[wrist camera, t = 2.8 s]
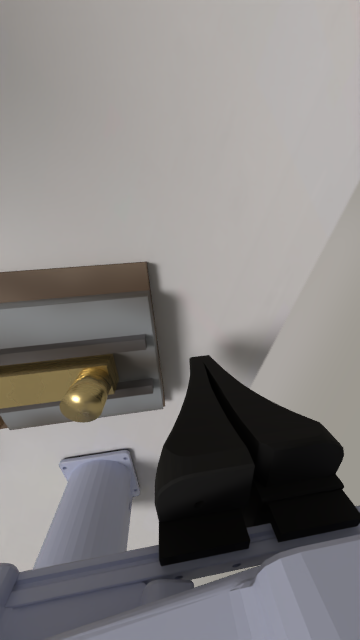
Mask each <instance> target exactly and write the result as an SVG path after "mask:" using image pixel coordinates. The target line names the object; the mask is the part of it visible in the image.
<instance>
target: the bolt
mask: <svg viewBox="0 0 360 640" xmlns="http://www.w3.org/2000/svg"><path fill="white" fill-rule="evenodd" d="M118 381H119V376H118V372H117V368H116V364H115V360H114V356H113V353H112V354H103V355H94V356H85V357H76V358H67V359H58V360H49V361H40V362H31V363H22V364H13V365H4V366H0V409H2V408H9V407H17V406H25V405H33V404H40V403H48V402H56V401H61V402H60V405H59V407H60V411H61V413H62V414H63V415H64V416H65V417H66V418H68V419H70V420H72V421H76V422H90V421H93V420H95V419H97V418H98V417H99V416H100V415H101V413H102V411H103V408H104V406H105V403H106V400H107V398H108V395H110V394H114V393H115V390H116V387H117V384H118Z"/></svg>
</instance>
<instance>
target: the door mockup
mask: <svg viewBox="0 0 360 640" xmlns="http://www.w3.org/2000/svg"><path fill="white" fill-rule="evenodd" d="M112 353H113V356H114V360H115V364H116V368H117V372H118V376H119V381H118V384H117V387H116V390H115V393H114V394H110V395H108V398H107V400H106V403H105V406H104V408H103V411H102V413H101V415H100V416H99V417H98V418H101V417H108V416H115V415H122V414H129V413H137V412H144V411H151V410H158V409H163V407H164V406H165V397H164V390H163V382H162V374H161V367H160V359H159V351H158V344H157V336H156V328H155V321H154V313H153V305H152V298H151V290H150V282H149V275H148V267H147V262H136V263H123V264H109V265H95V266H81V267H67V268H53V269H40V270H26V271H12V272H0V366H4V365H13V364H22V363H31V362H40V361H49V360H58V359H67V358H76V357H85V356H94V355H103V354H112ZM60 402H61V401H56V402H48V403H40V404H33V405H25V406H17V407H9V408H2V409H0V429H3V428H9V430H14V429H21V428H28V427H36V426H43V425H50V424H57V423H64V422H72V420H70V419H68V418H66V417H65V416H64V415H63V414H62V413H61V411H60V407H59V405H60Z"/></svg>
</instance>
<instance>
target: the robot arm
mask: <svg viewBox="0 0 360 640" xmlns="http://www.w3.org/2000/svg"><path fill="white" fill-rule="evenodd" d="M343 456H344V451H343V447H342V446H341V445H340V443H339V442H338V441H337V440H336V439H335V438H334V437H333V436H332V435H331V434H330V432H329V431H328V430H327V429H326V428H325V427H324V426H323V425H322V424H320V422H317V421H315V420H312V419H310V418H307V417H305V416H302V415H300V414H297V413H295V412H292V411H290V410H288V409H286V408H284V407H281V406H279V405H277V404H275V403H273V402H271V401H270V400H268V399H266V398H264V397H262V396H260V395H259V394H257V393H255V392H254V391H252V390H250V389H249V388H247V387H246V386H244V385H243V384H242V383H240V382H239V381H237V380H236V379H235V378H234V377H232V376H231V375H230V374H229V373H227V372H226V371H225V370H224V369H223V368H222V367H221V366H220V365H218V364H217V363H216V362H215V361H214V360H213V359H212V358H211V357H210V356H209V355H207V356H198V357H191V358H190V380H189V385H188V389H187V393H186V397H185V400H184V403H183V406H182V408H181V411H180V413H179V416H178V418H177V420H176V422H175V425H174V427H173V429H172V431H171V433H170V434H169V436H168V438H167V440H166V442H165V444H164V445H163V449H162V452H161V456H160V460H159V463H158V468H157V473H156V479H155V506H156V511H157V515H158V519H159V545H156V546H151V547H146V548H141V549H136V550H130V551H126V550H127V541H128V533H129V524H130V515H131V506H132V498H133V497H134V496H138V495H140V488H139V484H138V481H137V477H136V474H135V470H134V466H133V463H132V459H131V456H130V452H129V451H128V450H121V451H115V452H108V453H102V454H95V455H89V456H82V457H76V458H69V459H63V460H61V461H60V463H59V467H60V469H61V470H62V472H63V474H64V476H65V478H66V479H67V481H68V483H67V486H66V488H65V491H64V493H63V496H62V498H61V501H60V503H59V505H58V508H57V510H56V513H55V515H54V518H53V520H52V523H51V525H50V528H49V530H48V533H47V535H46V538H45V540H44V542H43V545H42V547H41V550H40V552H39V555H38V557H37V560H36V562H35V565H34V567H33V570H28V571H23V572H19V571H18V569H17V567H16V566H14V565H12V564H9V563H0V640H360V506H354V505H353V503H352V502H351V501H350V499H349V498H348V497H347V495H346V494H345V493H344V491H343V490H342V489H343V488H344V485H343V483H342V482H341V480H340V479H339V478H338V477H337V476H336V472H337V470H338V468H339V466H340V464H341V462H342V459H343ZM257 565H260V566H257ZM253 566H257V567H254V568H251V569H248V570H245V571H242V572H239V573H236V574H233V575H230V576H227V577H225V578H222V579H219V580H216V581H213V582H210V583H207V584H204V585H201V586H198V587H195V588H194V584H193V582H192V581H191V580H192V579H196V578H201V577H205V576H210V575H215V574H220V573H224V572H229V571H233V570H238V569H243V568H248V567H253Z"/></svg>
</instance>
